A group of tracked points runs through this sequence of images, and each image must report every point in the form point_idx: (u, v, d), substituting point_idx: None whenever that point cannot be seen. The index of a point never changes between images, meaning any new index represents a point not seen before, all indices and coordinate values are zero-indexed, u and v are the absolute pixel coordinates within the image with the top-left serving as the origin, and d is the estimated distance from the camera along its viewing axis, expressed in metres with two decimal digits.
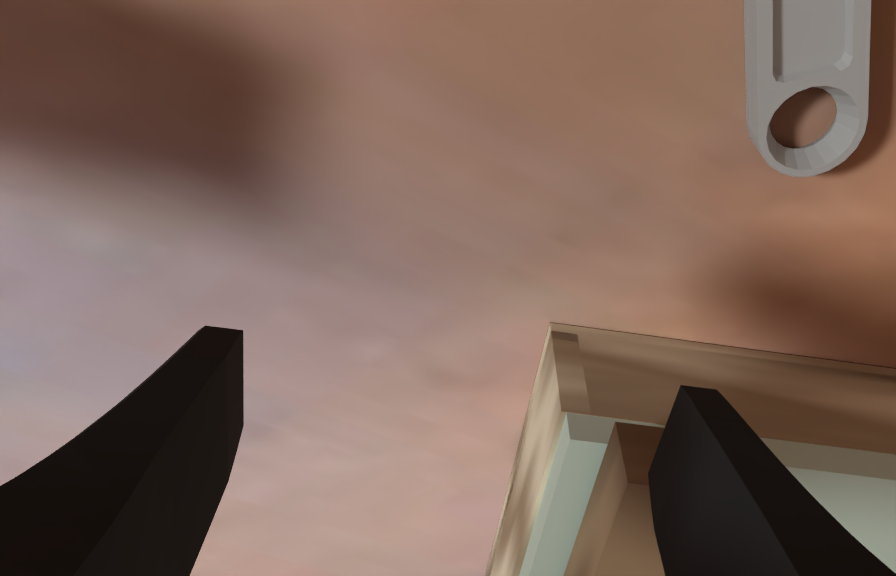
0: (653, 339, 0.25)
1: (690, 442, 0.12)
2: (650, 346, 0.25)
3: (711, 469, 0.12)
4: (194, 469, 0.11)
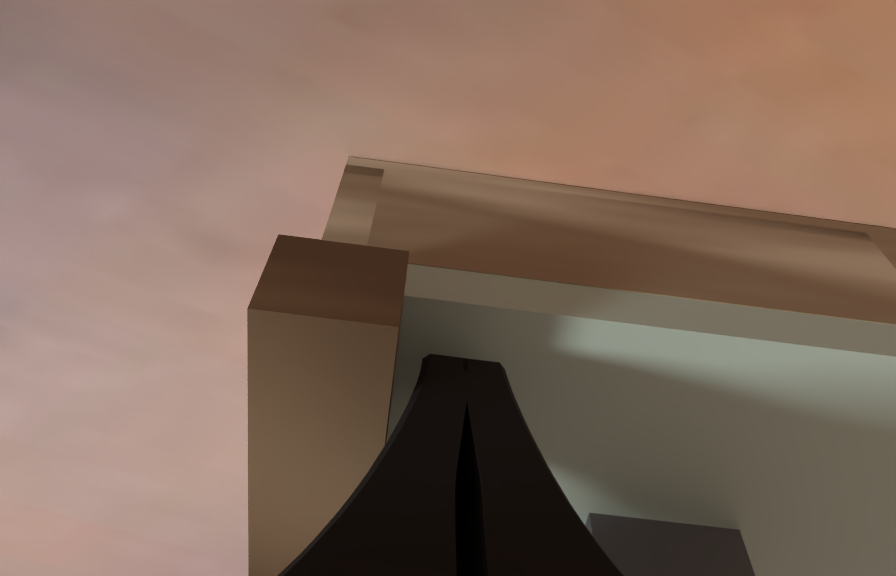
0: (496, 179, 0.17)
1: None
2: (489, 185, 0.17)
3: (465, 440, 0.12)
4: None
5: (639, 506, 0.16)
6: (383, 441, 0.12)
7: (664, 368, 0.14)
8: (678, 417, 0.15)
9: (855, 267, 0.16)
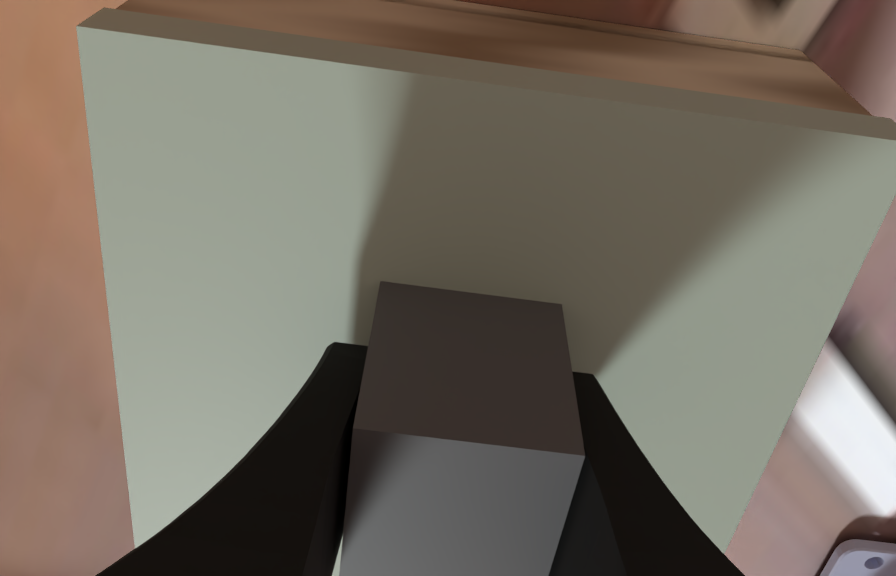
0: None
1: None
2: None
3: None
4: (340, 486, 0.11)
5: None
6: None
7: (161, 373, 0.15)
8: (219, 356, 0.14)
9: None
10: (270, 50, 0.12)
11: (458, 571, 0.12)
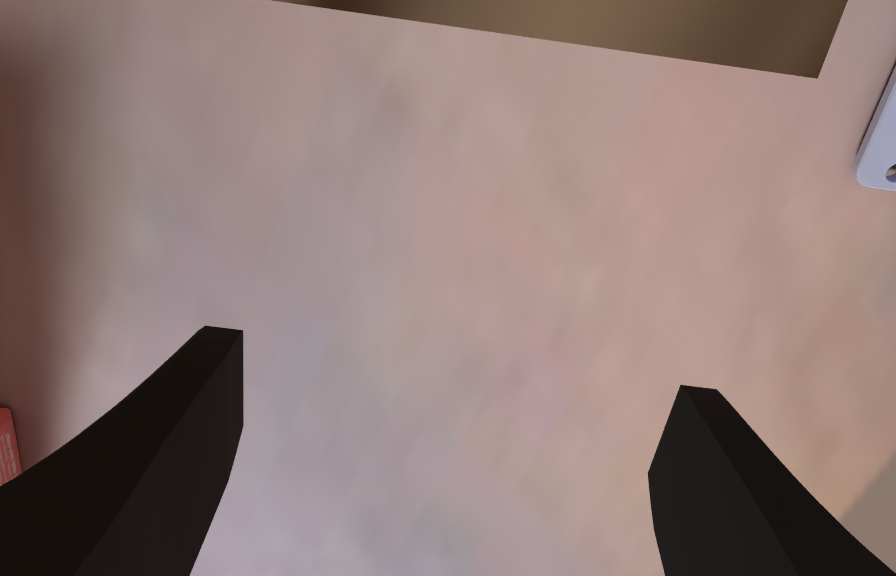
0: None
1: (690, 442, 0.12)
2: None
3: (711, 469, 0.12)
4: (194, 469, 0.11)
5: None
6: None
7: None
8: None
9: None
10: None
11: None
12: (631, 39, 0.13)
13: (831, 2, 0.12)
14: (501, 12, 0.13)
